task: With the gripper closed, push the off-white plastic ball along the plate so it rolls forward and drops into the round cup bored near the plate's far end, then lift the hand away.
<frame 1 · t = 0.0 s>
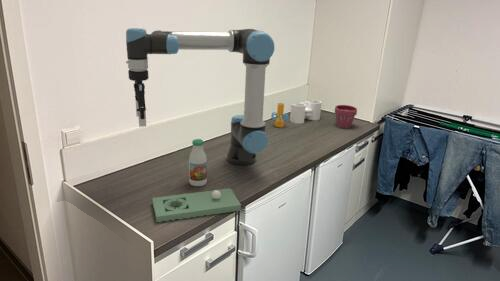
hand: (141, 121, 157), 28 cm above the worktop, fingers open, 13 cm apart
orange blue toy: (279, 126, 247), on the worktop
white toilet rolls: (305, 120, 263), on the worktop
ball: (216, 194, 150), point 4 cm above the worktop, touching plate
milk bottle: (197, 183, 168), on the worktop
plant pot: (343, 126, 254), on the worktop
plate: (196, 207, 149), on the worktop
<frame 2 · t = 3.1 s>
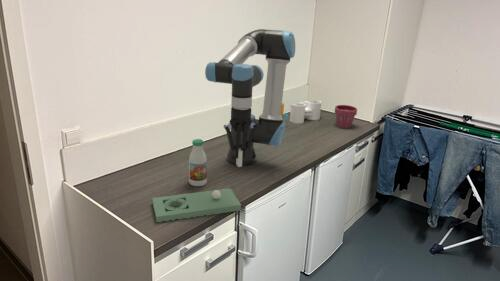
hand: (239, 165, 149), 16 cm above the worktop, fingers closed
nothing on the worktop moved.
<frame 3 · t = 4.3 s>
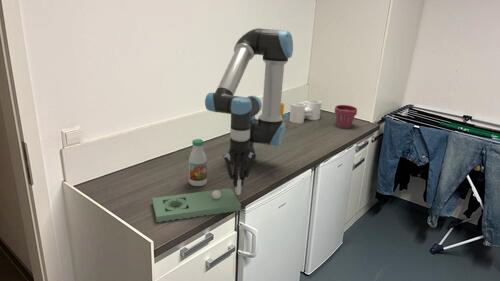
hand: (237, 193, 153), 4 cm above the worktop, fingers closed
nothing on the worktop moved.
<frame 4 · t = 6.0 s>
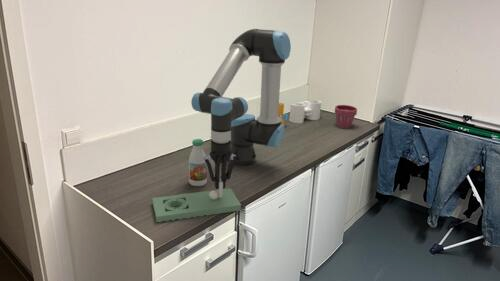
hand: (219, 195, 150), 4 cm above the worktop, fingers closed
ball: (213, 195, 150), point 4 cm above the worktop, tilted 30°, touching gripper, plate
everything else where it was.
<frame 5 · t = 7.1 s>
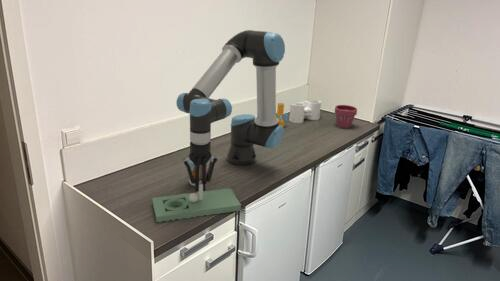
hand: (200, 197, 148), 4 cm above the worktop, fingers closed
ball: (193, 197, 147), point 4 cm above the worktop, tilted 92°, touching plate
everything else where it was.
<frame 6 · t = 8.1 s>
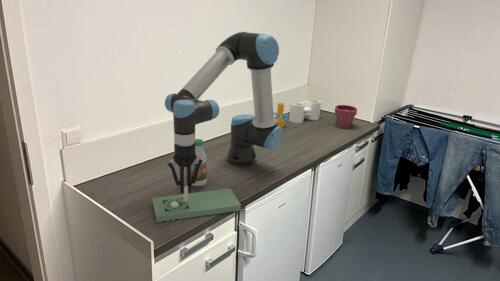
hand: (185, 199, 146), 4 cm above the worktop, fingers closed
ball: (174, 206, 145), point 2 cm above the worktop, tilted 175°
everything else where it was.
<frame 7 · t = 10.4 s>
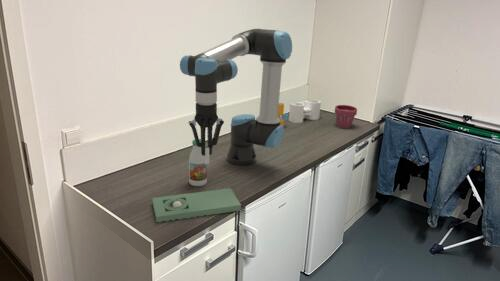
hand: (206, 162, 144), 19 cm above the worktop, fingers closed
ball: (177, 205, 146), point 2 cm above the worktop, tilted 152°
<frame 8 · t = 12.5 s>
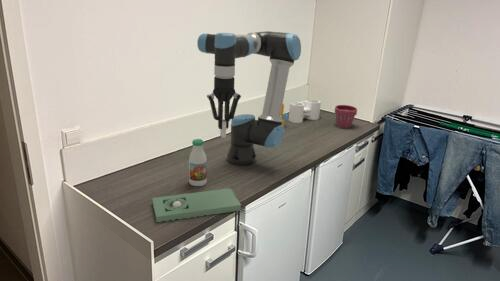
hand: (223, 136, 149), 26 cm above the worktop, fingers closed
at the end: ball 0.5 cm from the target spot in the plate, point 1.8 cm above the plate's base; ball touching worktop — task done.
